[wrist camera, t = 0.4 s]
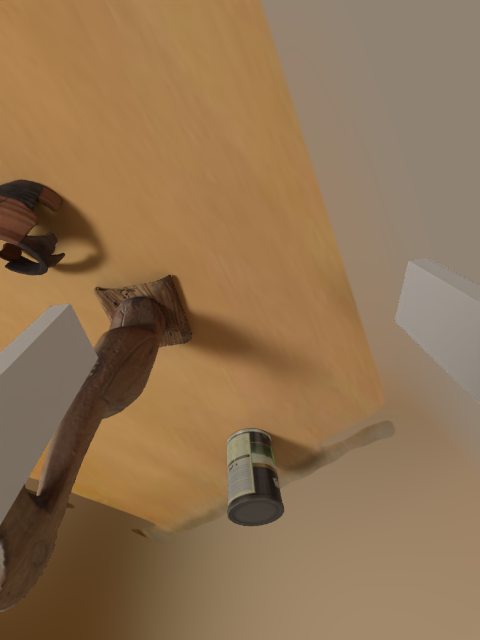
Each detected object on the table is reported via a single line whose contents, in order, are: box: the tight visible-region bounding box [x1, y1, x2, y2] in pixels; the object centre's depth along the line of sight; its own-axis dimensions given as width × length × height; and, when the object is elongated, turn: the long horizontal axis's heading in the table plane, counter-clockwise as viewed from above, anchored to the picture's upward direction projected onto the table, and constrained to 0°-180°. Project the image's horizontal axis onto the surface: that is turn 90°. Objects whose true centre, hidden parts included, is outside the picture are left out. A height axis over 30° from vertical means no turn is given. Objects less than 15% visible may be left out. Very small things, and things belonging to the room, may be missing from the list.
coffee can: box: [227, 429, 284, 526], centre depth 55 cm, size 10×10×14 cm
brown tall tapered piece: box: [0, 275, 192, 612], centre depth 28 cm, size 11×12×32 cm
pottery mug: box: [0, 180, 65, 275], centre depth 31 cm, size 12×10×8 cm
